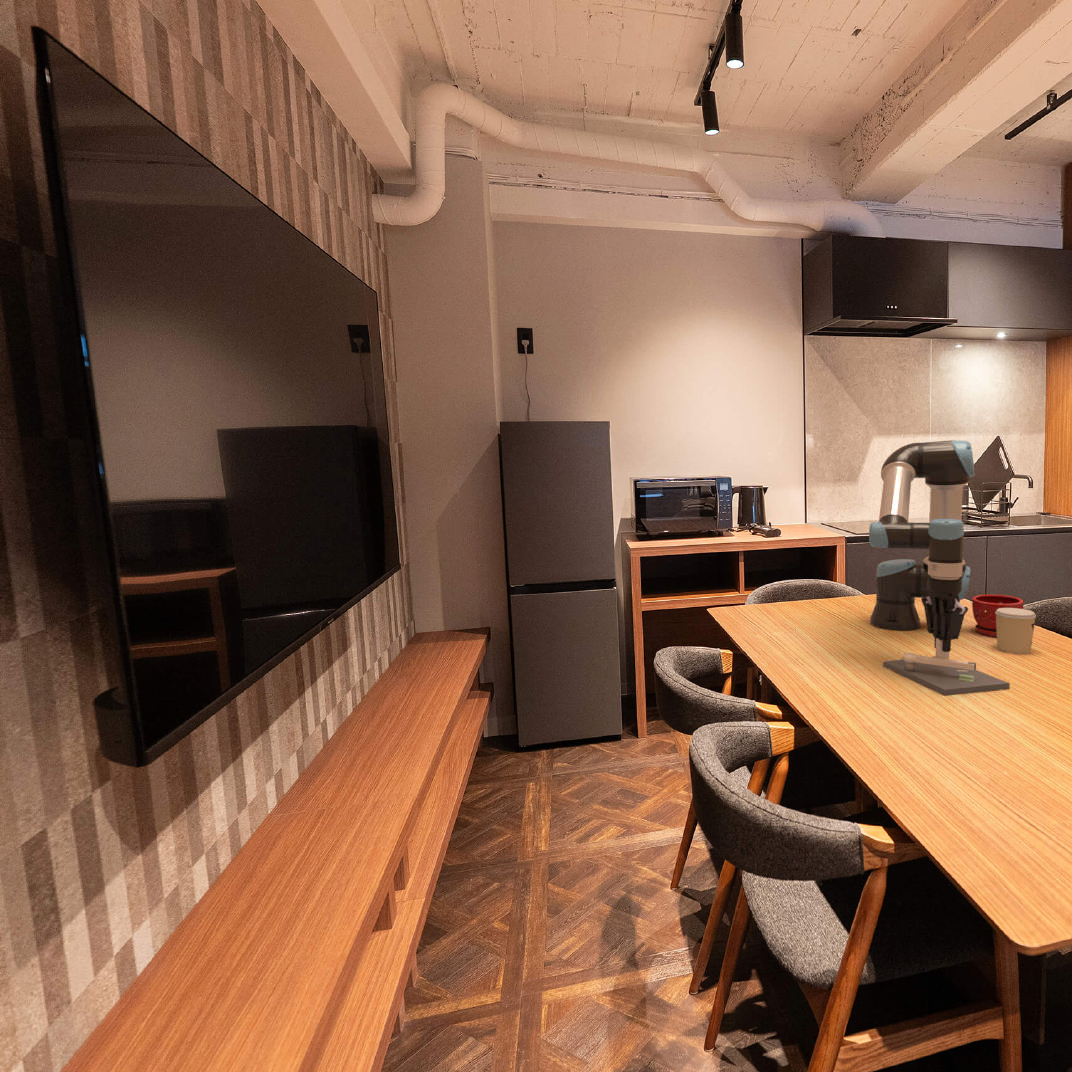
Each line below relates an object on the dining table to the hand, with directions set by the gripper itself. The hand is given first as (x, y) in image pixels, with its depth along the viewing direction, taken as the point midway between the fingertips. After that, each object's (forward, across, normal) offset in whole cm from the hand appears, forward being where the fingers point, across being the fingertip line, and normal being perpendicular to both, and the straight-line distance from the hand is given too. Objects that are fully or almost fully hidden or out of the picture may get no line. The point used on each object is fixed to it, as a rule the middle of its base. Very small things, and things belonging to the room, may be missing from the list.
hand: (942, 661), depth 156 cm
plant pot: (+5, -28, +45) cm, 53 cm away
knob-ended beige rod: (0, +2, -3) cm, 3 cm away
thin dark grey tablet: (+4, 0, 0) cm, 4 cm away
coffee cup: (+5, -13, +36) cm, 39 cm away
